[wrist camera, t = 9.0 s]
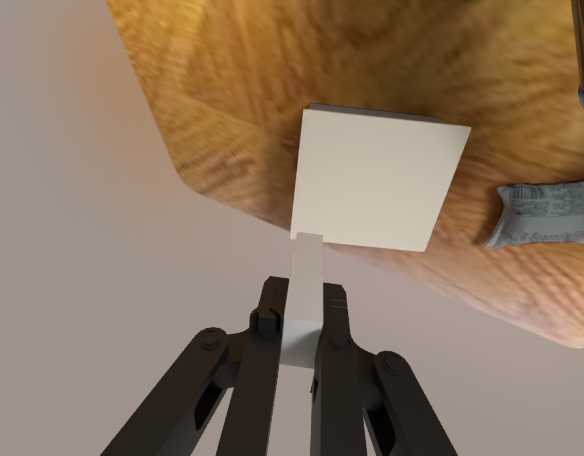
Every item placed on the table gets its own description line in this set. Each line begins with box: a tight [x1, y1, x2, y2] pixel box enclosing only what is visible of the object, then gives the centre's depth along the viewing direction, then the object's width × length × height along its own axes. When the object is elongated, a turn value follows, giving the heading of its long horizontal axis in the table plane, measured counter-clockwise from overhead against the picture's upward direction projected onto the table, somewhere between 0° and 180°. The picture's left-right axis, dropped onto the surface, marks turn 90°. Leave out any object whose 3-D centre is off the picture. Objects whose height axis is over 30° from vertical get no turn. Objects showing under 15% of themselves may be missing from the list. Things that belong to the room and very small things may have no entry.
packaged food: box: [483, 180, 584, 248], centre depth 35 cm, size 9×12×5 cm
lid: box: [290, 109, 472, 252], centre depth 28 cm, size 13×14×1 cm
